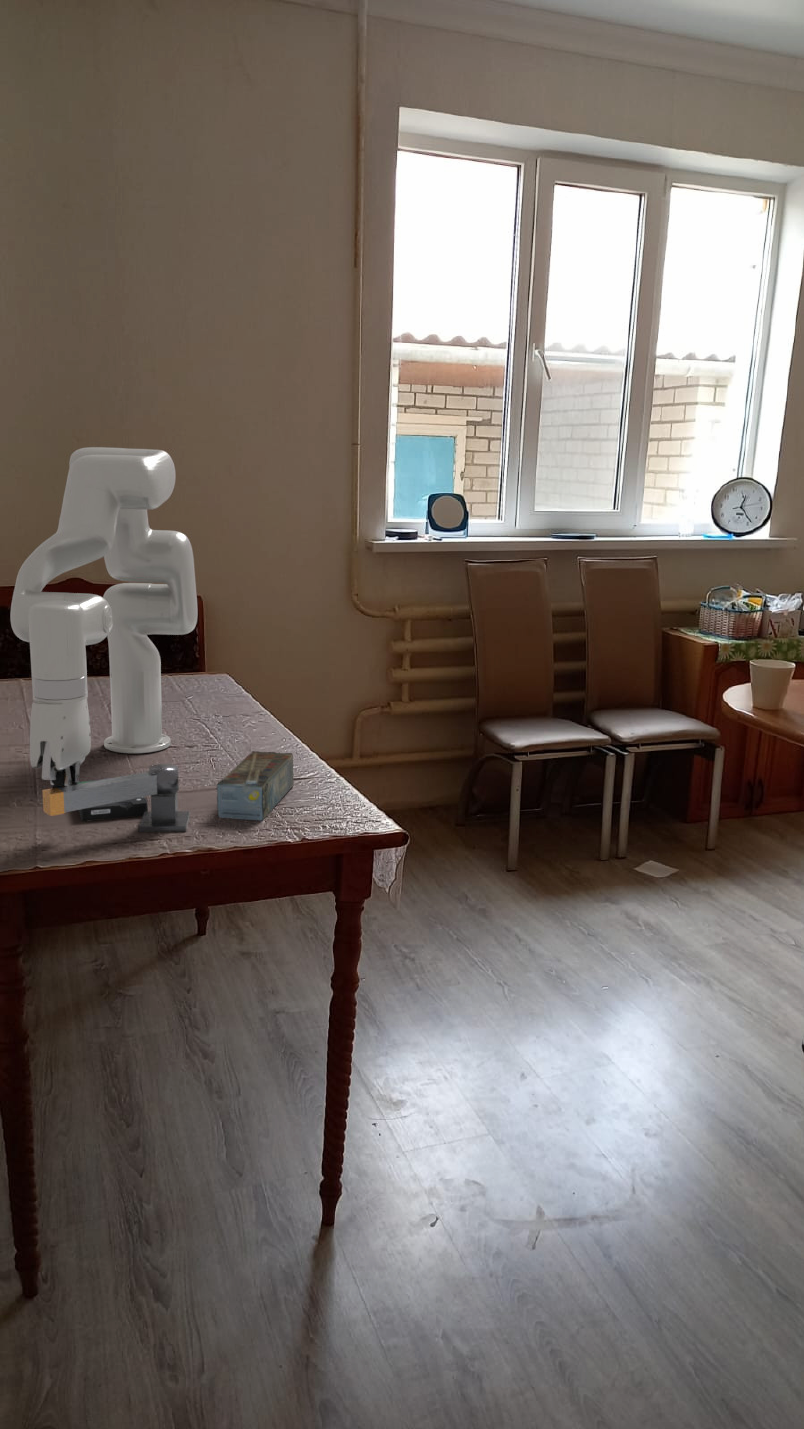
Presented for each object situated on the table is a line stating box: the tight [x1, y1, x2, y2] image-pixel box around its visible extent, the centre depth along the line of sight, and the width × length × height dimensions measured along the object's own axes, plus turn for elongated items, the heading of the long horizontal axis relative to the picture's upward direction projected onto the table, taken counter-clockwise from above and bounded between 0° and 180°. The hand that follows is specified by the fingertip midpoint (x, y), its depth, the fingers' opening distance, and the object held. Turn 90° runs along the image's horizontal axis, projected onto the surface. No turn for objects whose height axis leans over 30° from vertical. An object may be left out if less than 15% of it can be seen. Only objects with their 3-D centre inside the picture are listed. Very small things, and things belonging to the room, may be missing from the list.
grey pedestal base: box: [138, 791, 191, 833], centre depth 162 cm, size 7×7×5 cm
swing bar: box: [41, 763, 180, 817], centre depth 156 cm, size 21×4×4 cm, turn 131°
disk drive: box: [77, 777, 149, 822], centre depth 171 cm, size 10×3×15 cm
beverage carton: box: [216, 750, 295, 822], centre depth 174 cm, size 8×19×7 cm, turn 170°
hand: (66, 808), depth 155 cm, fingers closed
